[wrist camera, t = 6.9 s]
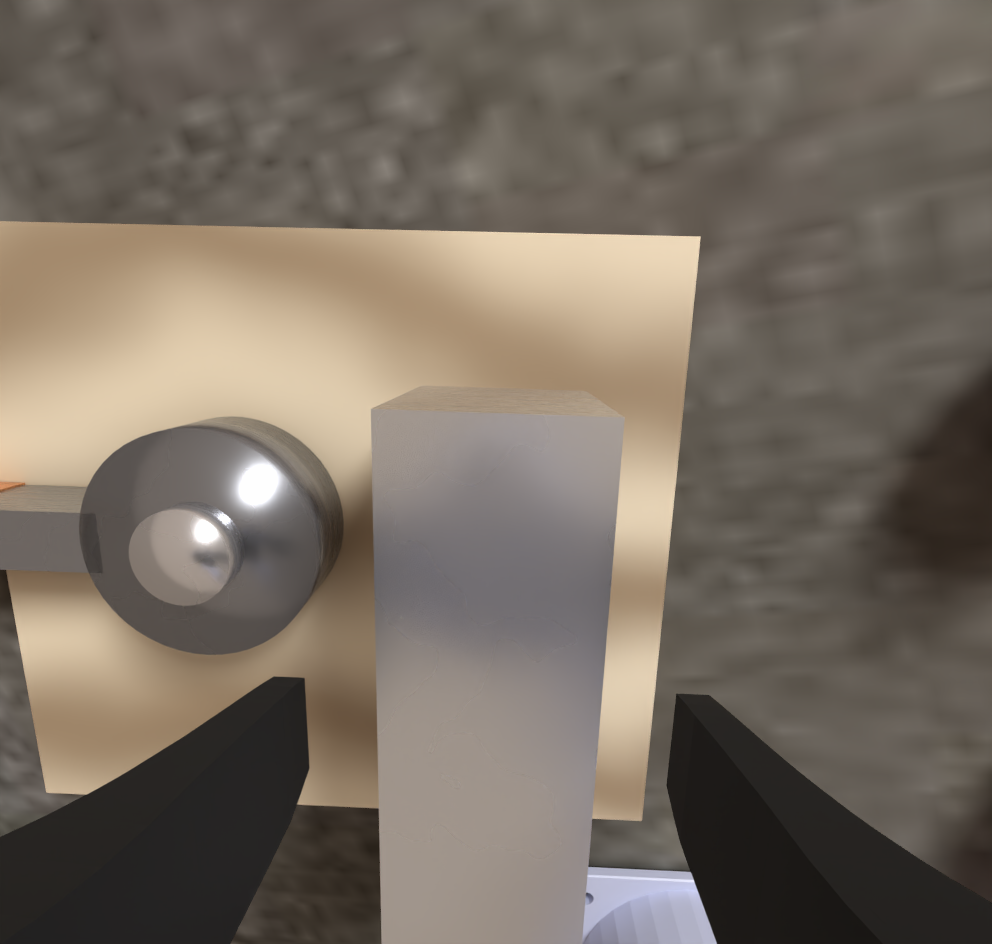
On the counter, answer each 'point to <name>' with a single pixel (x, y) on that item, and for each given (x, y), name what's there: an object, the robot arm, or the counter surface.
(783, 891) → the robot arm
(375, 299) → the wooden board
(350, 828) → the counter surface
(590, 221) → the counter surface
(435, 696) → the grey long rectangular block
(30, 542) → the grey lidded pan
